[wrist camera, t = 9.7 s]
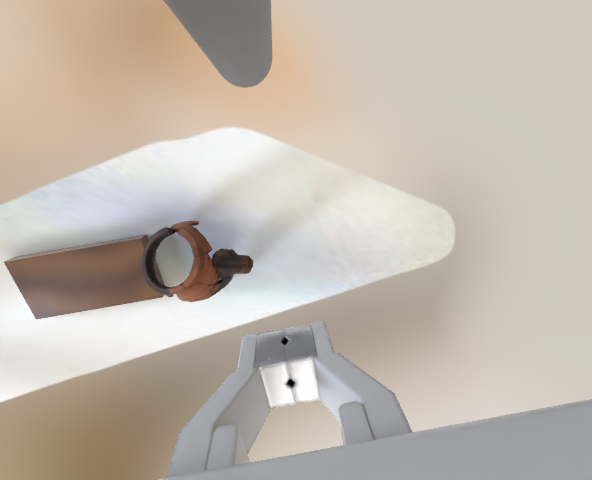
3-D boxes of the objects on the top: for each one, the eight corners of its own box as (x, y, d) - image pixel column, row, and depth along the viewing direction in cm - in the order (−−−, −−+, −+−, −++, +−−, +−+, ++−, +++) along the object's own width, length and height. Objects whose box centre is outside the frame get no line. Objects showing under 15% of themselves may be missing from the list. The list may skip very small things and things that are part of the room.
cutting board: (14, 257, 33) (3, 262, 32) (146, 234, 33) (140, 238, 32) (45, 312, 36) (35, 319, 34) (166, 291, 36) (162, 297, 35)
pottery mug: (184, 299, 37) (135, 308, 29) (181, 230, 38) (133, 221, 30) (268, 292, 34) (238, 301, 26) (262, 218, 35) (231, 205, 27)
